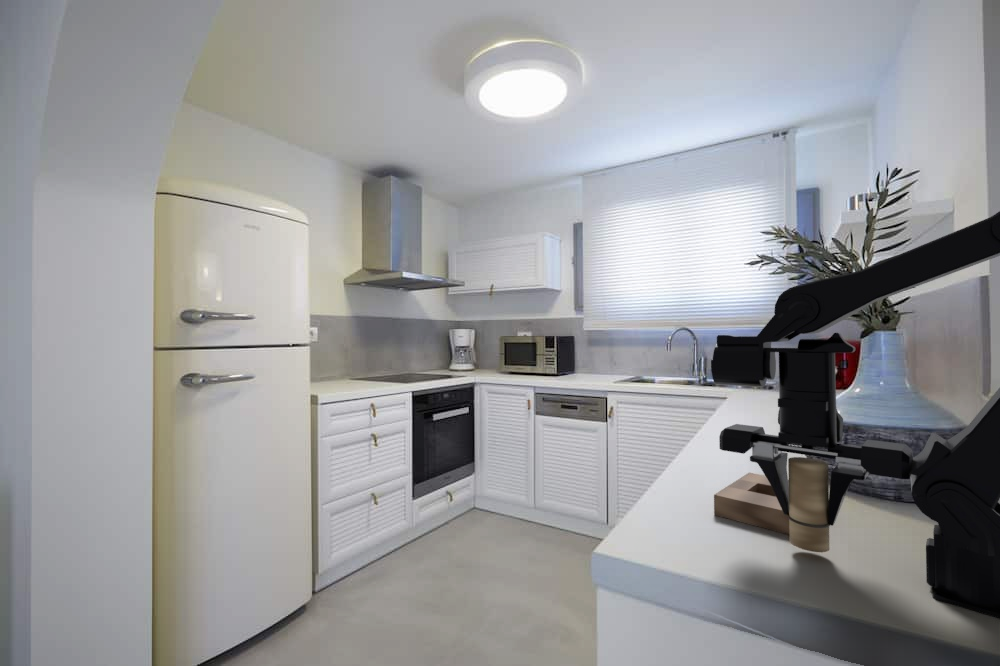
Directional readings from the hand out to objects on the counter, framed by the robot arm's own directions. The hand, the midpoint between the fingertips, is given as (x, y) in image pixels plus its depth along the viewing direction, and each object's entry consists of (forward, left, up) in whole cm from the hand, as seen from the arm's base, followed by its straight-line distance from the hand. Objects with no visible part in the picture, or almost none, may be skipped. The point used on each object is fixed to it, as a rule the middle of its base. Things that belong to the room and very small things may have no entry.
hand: (808, 519), depth 55 cm
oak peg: (0, 0, -3) cm, 3 cm away
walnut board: (+7, -13, -4) cm, 16 cm away
